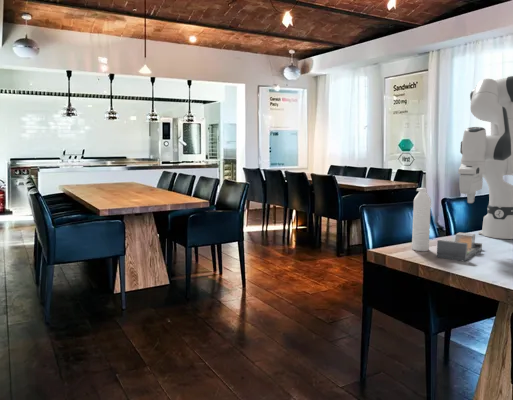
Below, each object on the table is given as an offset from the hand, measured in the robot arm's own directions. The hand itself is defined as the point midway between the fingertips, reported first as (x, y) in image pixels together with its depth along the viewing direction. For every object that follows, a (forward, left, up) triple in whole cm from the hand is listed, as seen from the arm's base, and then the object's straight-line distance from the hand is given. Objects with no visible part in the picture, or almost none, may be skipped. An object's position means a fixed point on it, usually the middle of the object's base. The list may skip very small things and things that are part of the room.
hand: (470, 202), depth 183 cm
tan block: (+5, 0, -17) cm, 18 cm away
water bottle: (+16, -14, -19) cm, 29 cm away
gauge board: (+11, 0, -19) cm, 22 cm away
